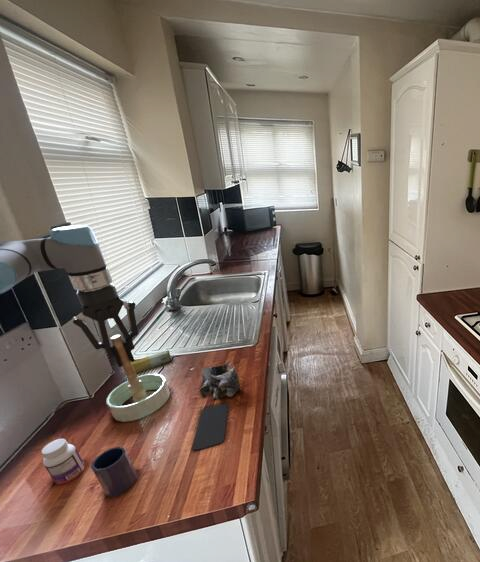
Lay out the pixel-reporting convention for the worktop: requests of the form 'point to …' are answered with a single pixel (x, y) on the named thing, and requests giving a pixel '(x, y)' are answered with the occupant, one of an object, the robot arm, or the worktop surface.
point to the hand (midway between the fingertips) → (125, 362)
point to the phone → (211, 427)
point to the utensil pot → (114, 471)
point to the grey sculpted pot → (220, 381)
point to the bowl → (141, 407)
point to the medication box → (151, 361)
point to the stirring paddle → (129, 370)
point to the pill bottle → (62, 461)
